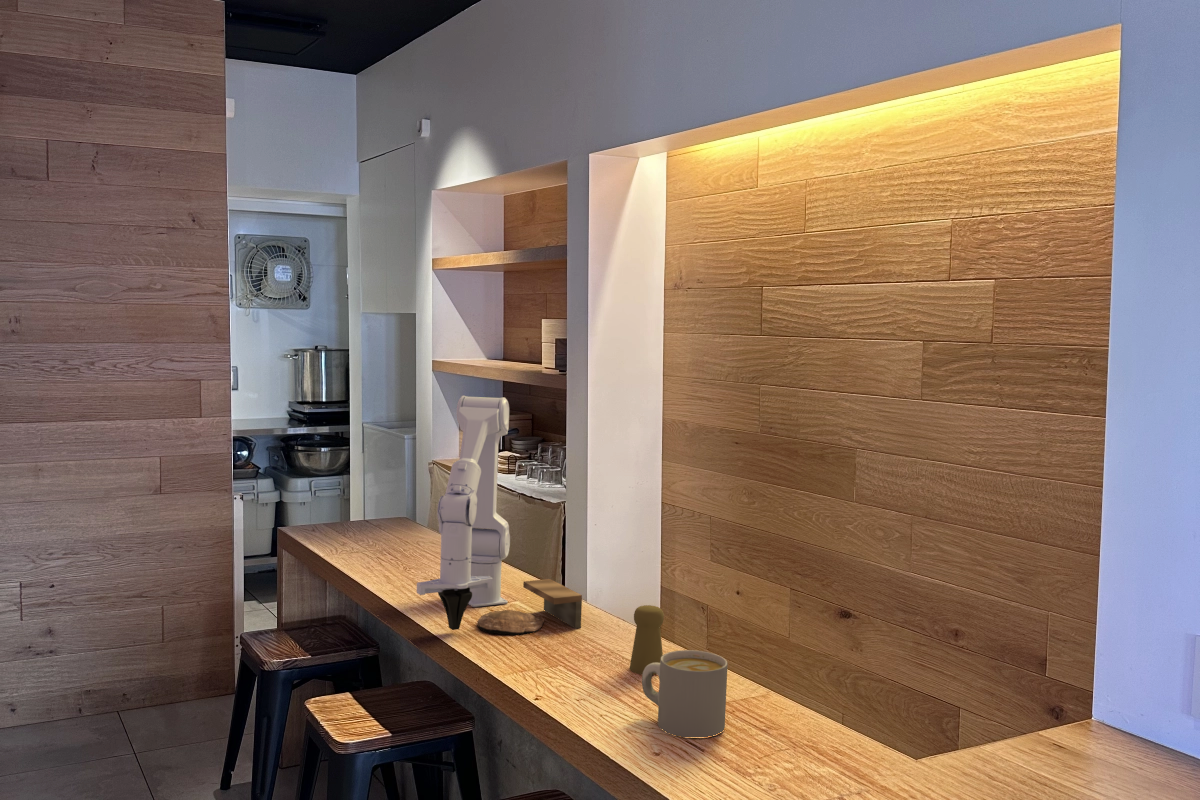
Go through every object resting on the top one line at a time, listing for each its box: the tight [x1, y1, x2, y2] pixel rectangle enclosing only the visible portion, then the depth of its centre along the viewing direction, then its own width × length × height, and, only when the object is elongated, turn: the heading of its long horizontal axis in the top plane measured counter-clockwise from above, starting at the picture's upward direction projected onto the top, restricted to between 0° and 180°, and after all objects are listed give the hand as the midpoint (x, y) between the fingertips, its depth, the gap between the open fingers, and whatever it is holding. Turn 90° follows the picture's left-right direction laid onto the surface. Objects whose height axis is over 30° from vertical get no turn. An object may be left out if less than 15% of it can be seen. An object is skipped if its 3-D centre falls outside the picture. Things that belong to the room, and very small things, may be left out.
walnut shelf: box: [522, 578, 583, 629], centre depth 208 cm, size 14×6×6 cm, turn 29°
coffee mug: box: [641, 649, 728, 737], centre depth 156 cm, size 13×10×10 cm
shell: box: [477, 609, 545, 637], centre depth 203 cm, size 12×13×4 cm
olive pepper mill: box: [628, 604, 665, 676], centre depth 180 cm, size 6×6×11 cm
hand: (454, 628), depth 197 cm, fingers closed
